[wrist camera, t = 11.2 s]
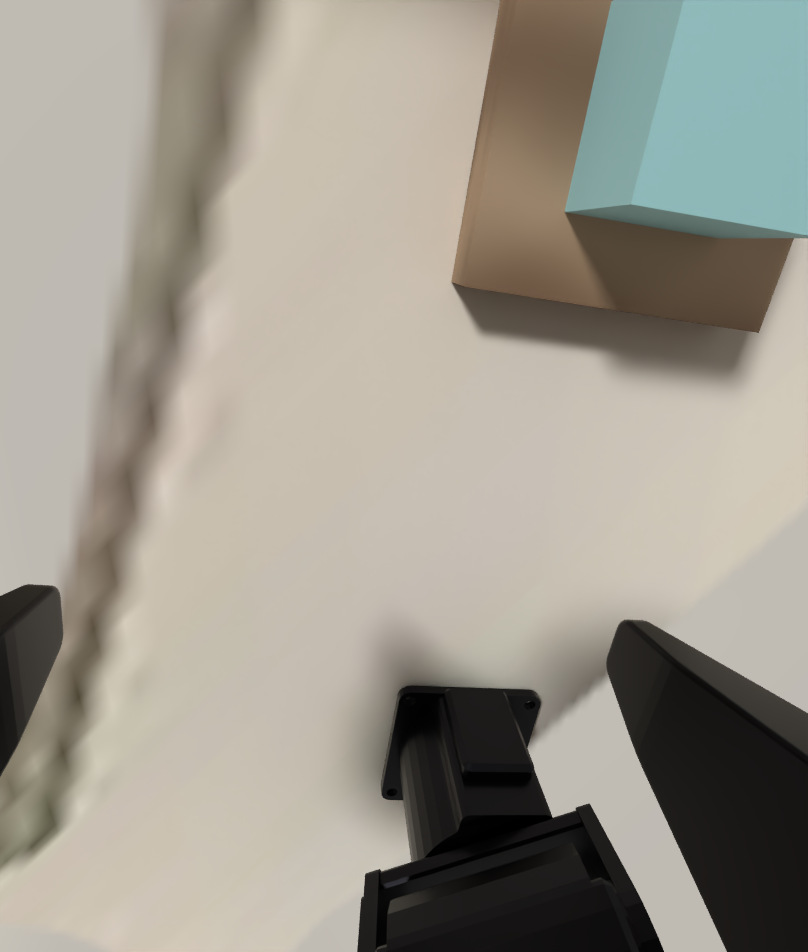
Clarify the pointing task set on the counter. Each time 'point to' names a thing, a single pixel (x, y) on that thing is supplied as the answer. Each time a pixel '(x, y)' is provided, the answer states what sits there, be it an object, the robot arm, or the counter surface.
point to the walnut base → (548, 183)
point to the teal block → (699, 119)
